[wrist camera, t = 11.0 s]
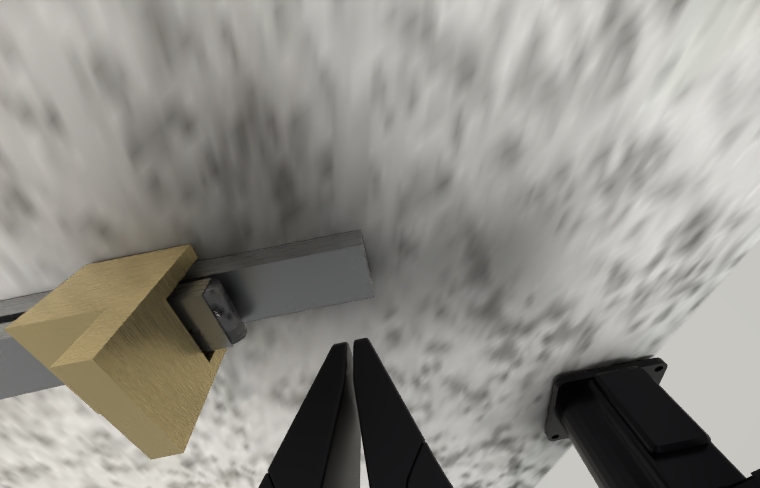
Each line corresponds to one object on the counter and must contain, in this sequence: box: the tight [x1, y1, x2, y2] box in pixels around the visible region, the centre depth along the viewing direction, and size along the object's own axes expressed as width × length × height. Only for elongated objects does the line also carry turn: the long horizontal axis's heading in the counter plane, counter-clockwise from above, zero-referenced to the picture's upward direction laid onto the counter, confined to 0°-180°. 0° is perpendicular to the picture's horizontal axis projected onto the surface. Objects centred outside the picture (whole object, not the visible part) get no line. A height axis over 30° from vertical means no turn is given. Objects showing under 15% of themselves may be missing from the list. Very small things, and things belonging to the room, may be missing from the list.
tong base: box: [0, 230, 374, 324], centre depth 12 cm, size 20×3×1 cm, turn 100°
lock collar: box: [4, 244, 227, 459], centre depth 11 cm, size 4×4×5 cm
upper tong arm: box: [0, 278, 247, 399], centre depth 11 cm, size 16×3×1 cm, turn 100°
